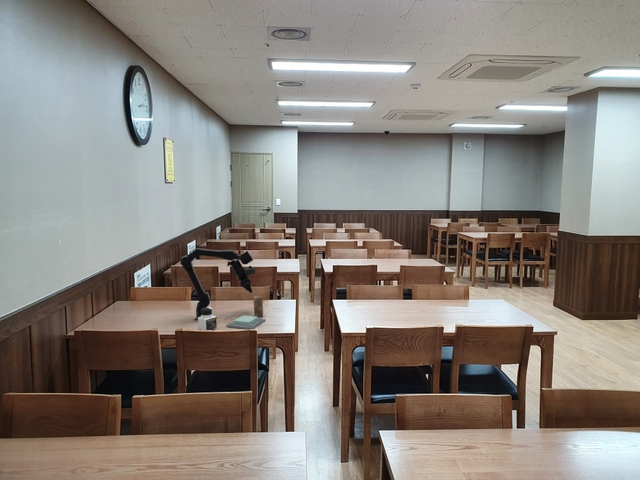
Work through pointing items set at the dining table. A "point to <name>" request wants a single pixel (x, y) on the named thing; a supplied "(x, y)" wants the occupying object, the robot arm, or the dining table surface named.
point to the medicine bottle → (207, 319)
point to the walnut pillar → (258, 306)
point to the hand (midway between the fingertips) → (251, 290)
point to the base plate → (246, 322)
